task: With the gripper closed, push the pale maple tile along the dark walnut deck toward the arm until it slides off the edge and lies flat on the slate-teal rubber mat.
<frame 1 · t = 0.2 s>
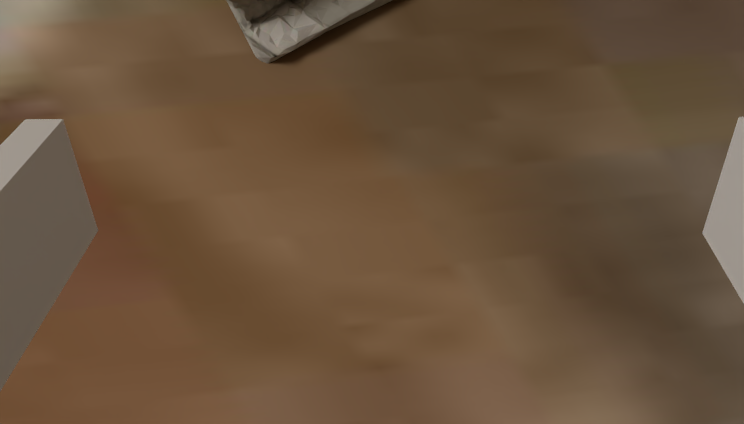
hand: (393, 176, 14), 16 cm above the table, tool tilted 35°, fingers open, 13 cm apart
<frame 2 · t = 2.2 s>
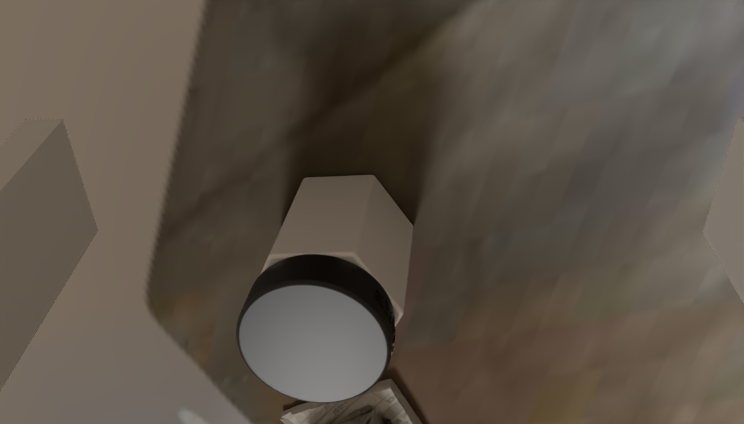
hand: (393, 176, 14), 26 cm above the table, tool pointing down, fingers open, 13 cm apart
jar: (346, 226, 46), on the table
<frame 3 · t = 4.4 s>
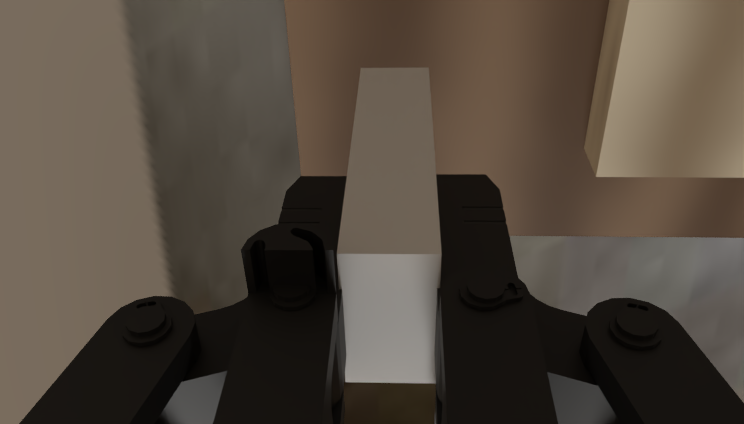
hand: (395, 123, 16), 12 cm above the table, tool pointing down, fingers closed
maple tile: (718, 12, 22), point 4 cm above the table, touching walnut deck
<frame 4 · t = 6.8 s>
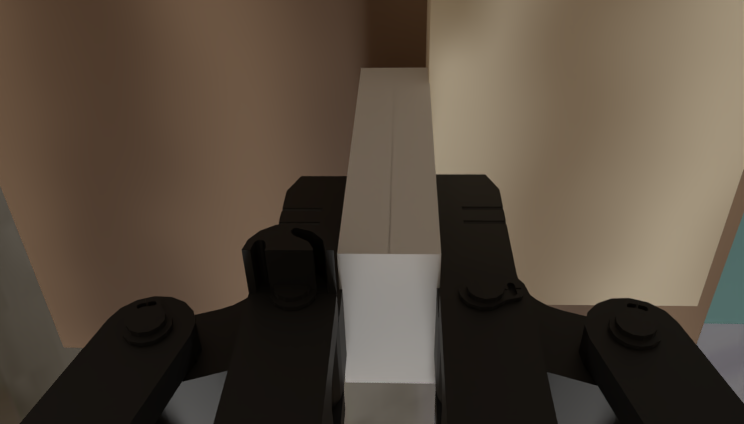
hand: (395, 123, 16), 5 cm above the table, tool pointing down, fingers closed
walnut deck: (371, 33, 20), on the table
maple tile: (571, 93, 17), point 4 cm above the table, touching gripper
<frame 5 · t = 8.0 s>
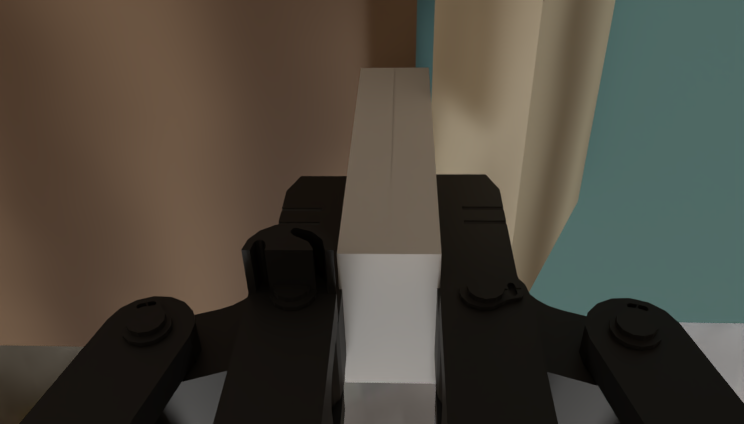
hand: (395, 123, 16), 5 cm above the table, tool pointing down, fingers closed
walnut deck: (73, 32, 20), on the table
maple tile: (489, 84, 17), point 4 cm above the table, tilted 63°, touching teal mat
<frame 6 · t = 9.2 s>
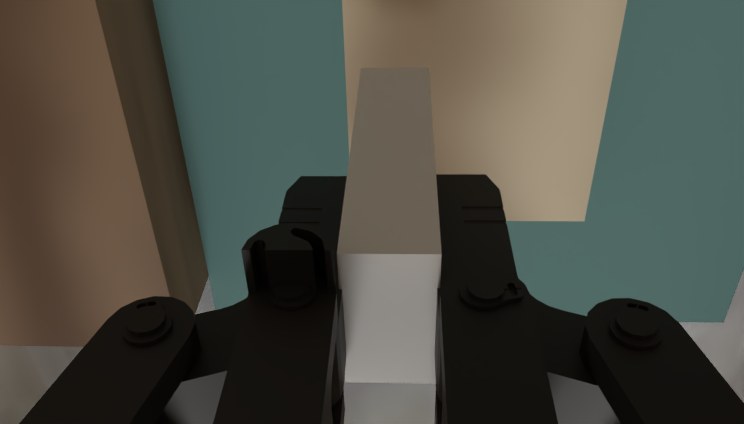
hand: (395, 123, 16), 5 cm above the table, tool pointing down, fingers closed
teal mat: (488, 33, 20), on the table
maple tile: (478, 65, 18), point 2 cm above the table, tilted 180°, touching teal mat
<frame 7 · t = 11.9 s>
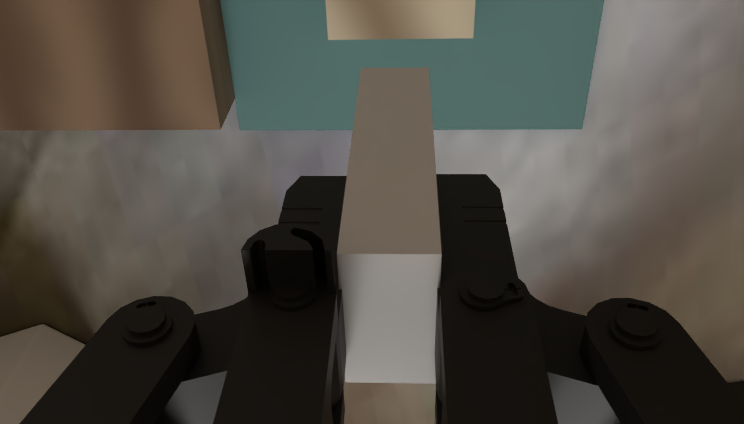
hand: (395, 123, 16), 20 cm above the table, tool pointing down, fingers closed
jar: (53, 363, 52), on the table
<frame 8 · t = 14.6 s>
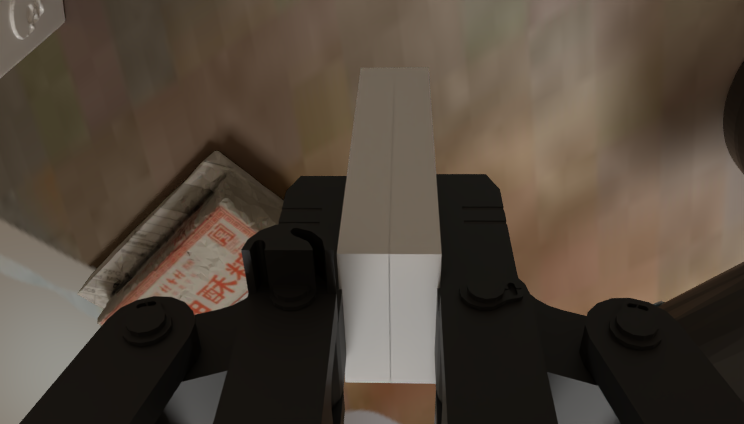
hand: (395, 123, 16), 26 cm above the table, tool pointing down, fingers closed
packaged product: (199, 252, 53), on the table
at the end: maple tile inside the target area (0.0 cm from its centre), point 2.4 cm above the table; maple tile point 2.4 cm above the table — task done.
